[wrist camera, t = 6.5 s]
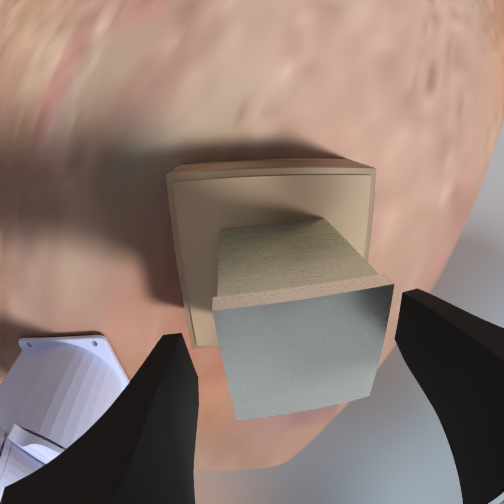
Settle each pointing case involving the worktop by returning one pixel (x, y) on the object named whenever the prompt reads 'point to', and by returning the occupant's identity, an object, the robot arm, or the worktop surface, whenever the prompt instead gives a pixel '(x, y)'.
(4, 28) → the worktop surface
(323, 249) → the tea tin
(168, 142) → the worktop surface
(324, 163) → the tan flat square box
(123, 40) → the worktop surface
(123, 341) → the worktop surface
